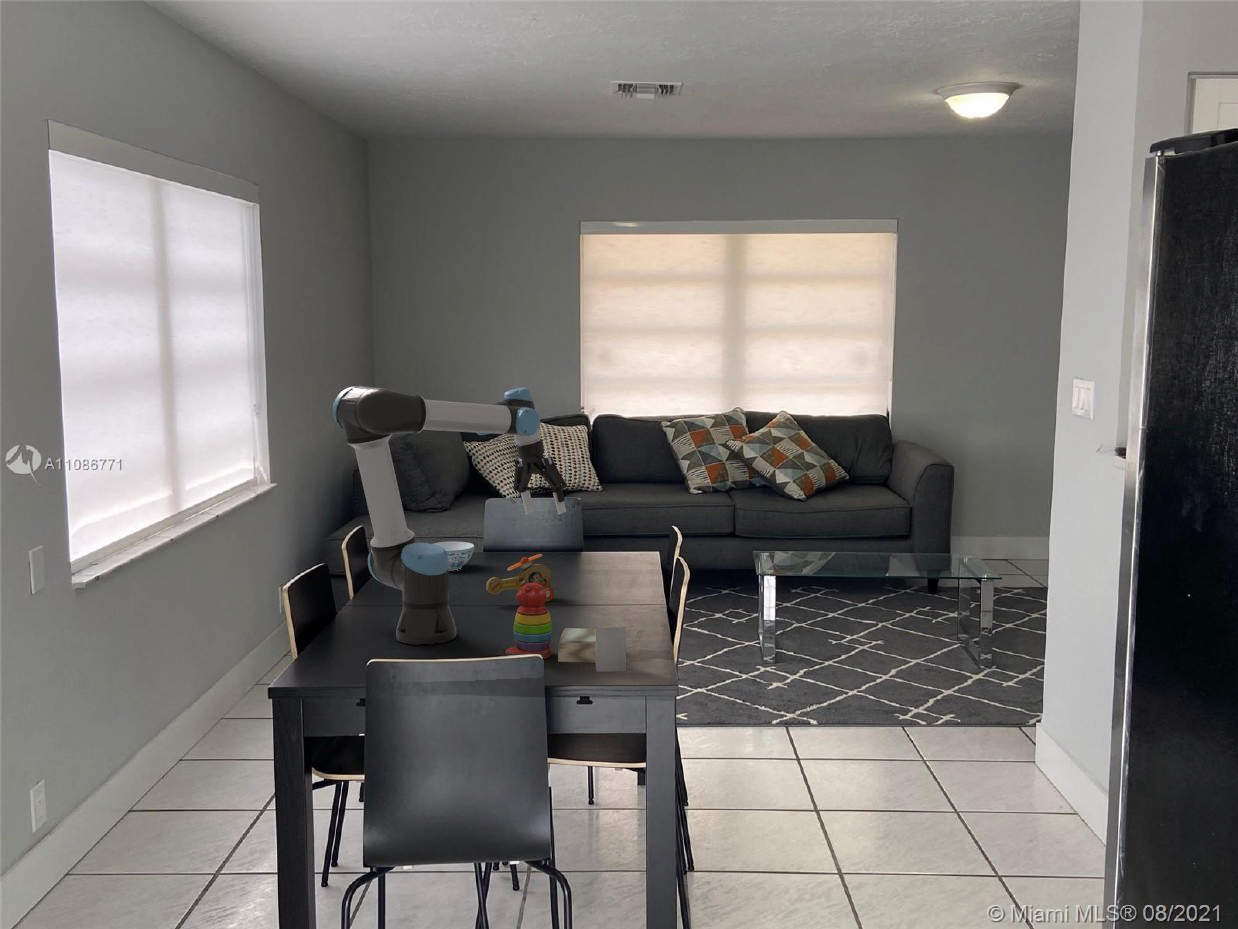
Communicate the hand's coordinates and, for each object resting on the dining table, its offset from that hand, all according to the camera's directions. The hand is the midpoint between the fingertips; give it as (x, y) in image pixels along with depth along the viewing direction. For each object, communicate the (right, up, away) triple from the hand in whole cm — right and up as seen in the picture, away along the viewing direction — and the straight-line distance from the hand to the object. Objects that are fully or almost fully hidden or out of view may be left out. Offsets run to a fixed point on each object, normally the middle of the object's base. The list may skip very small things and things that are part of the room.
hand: (545, 513), depth 312 cm
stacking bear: (0, -32, -49) cm, 59 cm away
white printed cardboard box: (+19, -34, -60) cm, 71 cm away
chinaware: (-34, -21, +46) cm, 61 cm away
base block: (+13, -32, -49) cm, 60 cm away
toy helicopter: (-7, -26, +3) cm, 27 cm away
